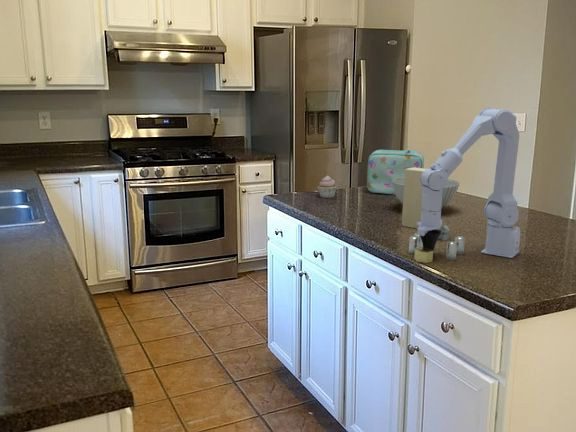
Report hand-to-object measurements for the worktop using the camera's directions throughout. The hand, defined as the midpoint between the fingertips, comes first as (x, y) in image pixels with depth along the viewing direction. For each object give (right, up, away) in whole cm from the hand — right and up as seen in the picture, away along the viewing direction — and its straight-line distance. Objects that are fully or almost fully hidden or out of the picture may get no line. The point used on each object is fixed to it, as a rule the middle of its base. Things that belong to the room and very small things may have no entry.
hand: (428, 253), depth 171 cm
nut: (-2, -2, -3) cm, 4 cm away
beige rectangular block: (+5, +8, +38) cm, 39 cm away
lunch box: (+9, +22, +98) cm, 101 cm away
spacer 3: (+6, -1, -1) cm, 7 cm away
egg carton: (+9, +4, +24) cm, 26 cm away
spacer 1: (-3, 0, +5) cm, 6 cm away
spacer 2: (-1, +1, +8) cm, 9 cm away
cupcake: (-24, +20, +90) cm, 96 cm away
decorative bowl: (+13, +13, +63) cm, 66 cm away
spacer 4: (+11, 0, +4) cm, 11 cm away
